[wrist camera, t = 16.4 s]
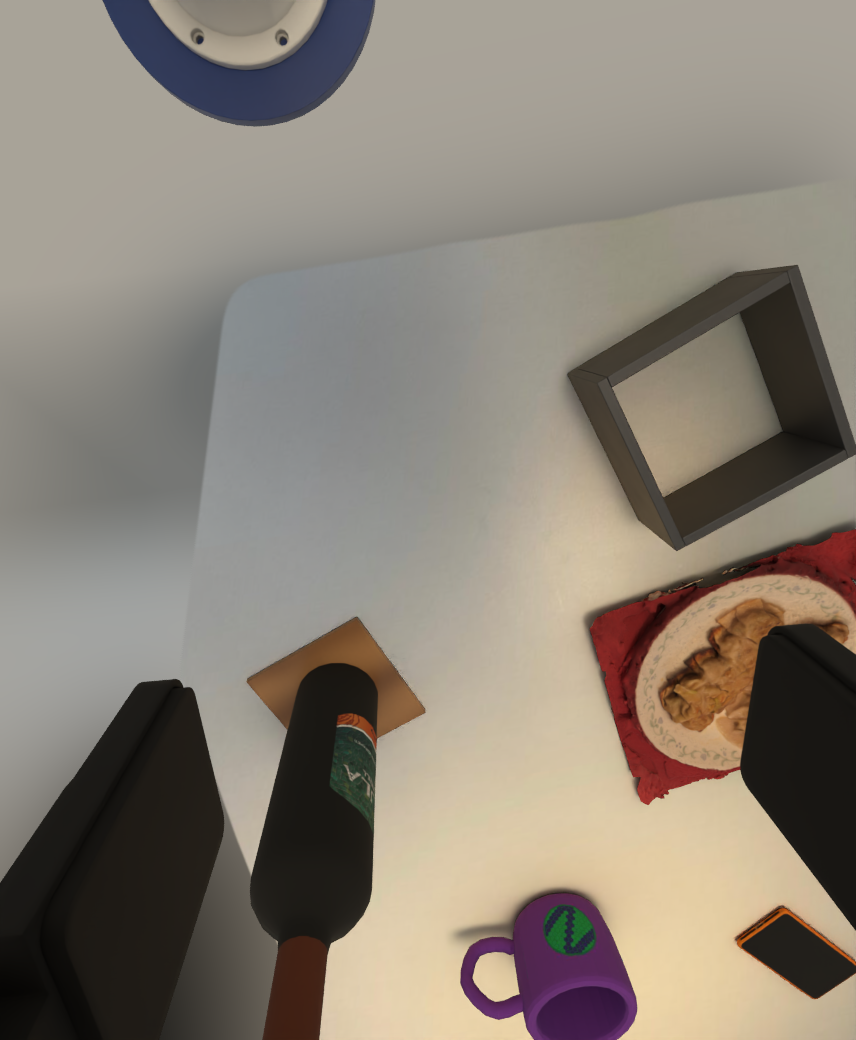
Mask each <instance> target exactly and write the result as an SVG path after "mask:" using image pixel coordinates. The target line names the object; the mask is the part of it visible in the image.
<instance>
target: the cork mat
mask: <svg viewBox="0 0 856 1040" xmlns="http://www.w3.org/2000/svg"><path fill="white" fill-rule="evenodd" d="M329 663H346V664H349V665H353V666H356V667H358V668H360V669H361V670H363V671H364V672H366V673H367V674H368V675H369V676H370V677H371V679H372V680H373V681H374V682H375V685H376V688H377V691H378V711H377V738H379V737H380V736H382V735H384V734H386V733H388V732H390V731H392V730H394V729H395V728H397V727H399V726H401V725H403V724H405V723H407V722H409V721H410V720H412V719H414V718H416V717H418V716H420V715H422V714H424V713H425V708H424V707H423V706H422V704H421V703H420V702H419V700H418V699H417V698H416V696H415V695H414V693H413V692H412V691H411V689H410V688H409V687H408V685H407V684H406V683H405V681H404V680H403V679H402V677H401V676H400V674H399V673H398V672H397V670H396V669H395V668H394V666H393V665H392V664H391V662H390V661H389V659H388V658H387V657H386V655H385V654H384V653H383V651H382V650H381V649H380V647H379V646H378V644H377V643H376V642H375V640H374V639H373V638H372V636H371V635H370V634H369V632H368V631H367V630H366V628H365V627H364V625H363V624H362V623H361V621H360V620H359V619H358V617H356V618H354V619H352V620H350V621H349V622H347V623H345V624H343V625H342V626H340V627H338V628H336V629H335V630H333V631H331V632H329V633H327V634H326V635H324V636H322V637H320V638H319V639H317V640H315V641H313V642H312V643H310V644H308V645H306V646H305V647H303V648H301V649H299V650H298V651H296V652H294V653H292V654H290V655H289V656H287V657H285V658H283V659H282V660H280V661H278V662H276V663H275V664H273V665H271V666H269V667H268V668H266V669H264V670H262V671H260V672H259V673H257V674H255V675H253V676H252V677H250V678H248V679H247V683H248V684H249V685H250V687H251V688H252V689H253V690H254V691H255V692H256V694H257V695H258V696H259V697H260V698H261V699H262V701H263V702H264V703H265V704H266V705H267V706H268V708H269V709H270V710H271V711H272V712H273V713H274V715H275V716H276V717H277V718H278V719H279V720H280V722H281V723H282V724H283V725H284V726H285V727H286V729H287V730H288V726H289V722H290V718H291V714H292V710H293V706H294V702H295V698H296V694H297V691H298V688H299V685H300V682H301V681H302V679H303V678H304V677H305V676H306V675H307V674H308V673H309V672H310V671H312V670H313V669H315V668H317V667H318V666H322V665H325V664H329Z"/></svg>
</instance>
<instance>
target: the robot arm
mask: <svg viewBox="0 0 856 1040" xmlns="http://www.w3.org/2000/svg"><path fill="white" fill-rule="evenodd" d="M149 2H150V4H151V6H152V7H153V9H154V10H155V12H156V13H157V14H158V16H159V17H160V19H161V20H162V22H163V23H164V24H165V25H166V26H167V28H168V29H169V30H170V31H171V32H172V33H173V35H174V36H175V37H176V38H177V39H178V40H179V41H180V42H182V43H183V44H184V45H185V46H186V47H187V48H189V49H190V50H191V51H192V52H194V53H195V54H197V55H199V56H200V57H202V58H204V59H206V60H207V61H209V62H211V63H214V64H217V65H220V66H223V67H226V68H230V69H238V70H254V69H263V68H266V67H269V66H272V65H275V64H278V63H280V62H282V61H283V60H285V59H286V58H288V57H290V56H291V55H293V54H294V53H295V52H296V51H297V50H298V49H299V48H300V47H301V46H302V45H303V44H304V43H305V42H306V41H307V40H308V39H309V37H310V36H311V34H312V33H313V31H314V30H315V28H316V27H317V25H318V24H319V21H320V19H321V16H322V14H323V11H324V9H325V7H326V4H327V0H149ZM200 38H203V39H204V41H203V42H202V44H198V40H199V39H200ZM283 39H285V40H287V44H286V45H283V46H282V45H281V44H280V43H281V41H282V40H283ZM740 770H741V774H742V778H743V780H744V782H745V784H746V786H747V788H748V789H749V790H750V792H751V793H752V794H753V796H754V797H755V798H756V800H757V801H758V802H759V804H760V805H761V806H762V807H763V809H764V810H765V811H766V813H767V814H768V815H769V817H770V818H771V819H772V821H773V822H774V823H775V825H776V826H777V827H778V829H779V830H780V831H781V833H782V834H783V835H784V837H785V838H786V839H787V840H788V842H789V843H790V844H791V846H792V847H793V848H794V850H795V851H796V852H797V854H798V855H799V856H800V858H801V859H802V860H803V862H804V863H805V864H806V866H807V867H808V868H809V870H810V871H811V872H812V873H813V875H814V876H815V877H816V879H817V880H818V881H819V883H820V884H821V885H822V887H823V888H824V889H825V891H826V892H827V893H828V895H829V896H830V897H831V899H832V900H833V901H834V903H835V904H836V905H837V906H838V908H839V909H840V910H841V912H842V913H843V914H844V916H845V917H846V918H847V920H848V921H849V922H850V924H851V925H852V926H853V928H854V929H855V930H856V654H855V653H853V652H852V651H850V650H849V649H848V648H846V647H845V646H844V645H842V644H841V643H840V642H838V641H837V640H835V639H834V638H833V637H831V636H830V635H829V634H827V633H826V632H824V631H823V630H822V629H820V628H819V627H817V626H815V625H814V624H808V623H805V624H794V625H782V626H775V627H773V628H771V629H770V631H769V632H768V635H767V636H764V637H762V639H761V640H760V643H759V647H758V653H757V660H756V666H755V672H754V678H753V685H752V691H751V697H750V704H749V710H748V716H747V722H746V729H745V735H744V741H743V748H742V754H741V760H740ZM223 831H224V815H223V810H222V806H221V802H220V797H219V793H218V789H217V785H216V780H215V776H214V772H213V768H212V764H211V759H210V755H209V751H208V747H207V743H206V738H205V734H204V730H203V726H202V722H201V717H200V713H199V709H198V705H197V701H196V696H195V693H194V691H193V689H192V688H190V687H186V688H183V685H182V683H181V682H180V680H177V679H172V680H162V681H149V682H141V683H139V684H138V685H137V686H136V687H135V688H134V690H133V691H132V693H131V694H130V696H129V697H128V699H127V700H126V701H125V703H124V705H123V706H122V707H121V709H120V710H119V712H118V713H117V715H116V716H115V718H114V720H113V721H112V722H111V724H110V725H109V727H108V728H107V730H106V731H105V733H104V734H103V735H102V737H101V738H100V740H99V742H98V743H97V744H96V746H95V747H94V749H93V750H92V752H91V753H90V755H89V756H88V758H87V759H86V761H85V762H84V764H83V765H82V767H81V768H80V769H79V771H78V772H77V774H76V775H75V777H74V778H73V779H72V780H71V782H70V783H69V784H68V785H67V786H66V787H65V789H64V790H63V791H62V793H61V794H60V796H59V797H58V799H57V800H56V802H55V803H54V805H53V806H52V808H51V809H50V811H49V812H48V814H47V815H46V816H45V818H44V819H43V821H42V822H41V824H40V826H39V827H38V828H37V830H36V831H35V833H34V834H33V836H32V837H31V839H30V840H29V842H28V843H27V844H26V846H25V847H24V849H23V850H22V852H21V853H20V855H19V856H18V858H17V859H16V861H15V862H14V863H13V865H12V866H11V868H10V869H9V871H8V872H7V874H6V875H5V877H4V878H3V880H2V881H1V883H0V1040H159V1038H160V1035H161V1032H162V1028H163V1025H164V1022H165V1019H166V1016H167V1013H168V1009H169V1006H170V1003H171V1000H172V997H173V993H174V990H175V987H176V984H177V981H178V978H179V975H180V971H181V968H182V965H183V962H184V959H185V956H186V952H187V949H188V946H189V943H190V939H191V936H192V933H193V930H194V927H195V924H196V921H197V917H198V914H199V911H200V908H201V905H202V902H203V898H204V895H205V892H206V889H207V886H208V883H209V879H210V876H211V873H212V870H213V867H214V863H215V860H216V857H217V854H218V850H219V848H220V844H221V841H222V837H223Z"/></svg>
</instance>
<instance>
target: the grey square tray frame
mask: <svg viewBox="0 0 856 1040" xmlns="http://www.w3.org/2000/svg"><path fill="white" fill-rule="evenodd" d="M739 312H740V313H741V316H742V319H743V321H744V324H745V327H746V330H747V332H748V335H749V338H750V341H751V343H752V346H753V349H754V351H755V354H756V357H757V360H758V362H759V365H760V368H761V371H762V373H763V376H764V379H765V382H766V384H767V387H768V390H769V392H770V395H771V398H772V401H773V403H774V406H775V409H776V412H777V414H778V417H779V420H780V422H781V425H782V428H783V431H784V432H782V433H780V434H778V435H776V436H775V437H773V438H771V439H769V440H767V441H766V442H764V443H762V444H760V445H758V446H757V447H755V448H753V449H751V450H749V451H748V452H746V453H744V454H742V455H740V456H739V457H737V458H735V459H733V460H731V461H730V462H728V463H726V464H724V465H722V466H721V467H719V468H717V469H715V470H713V471H712V472H710V473H708V474H706V475H704V476H702V477H701V478H699V479H697V480H695V481H693V482H692V483H690V484H688V485H686V486H684V487H683V488H681V489H679V490H677V491H675V492H674V493H672V494H670V495H668V496H666V497H665V498H663V497H662V495H661V492H660V490H659V488H658V486H657V484H656V482H655V479H654V477H653V475H652V473H651V471H650V469H649V467H648V464H647V462H646V460H645V458H644V456H643V454H642V452H641V449H640V447H639V445H638V443H637V441H636V439H635V437H634V434H633V432H632V430H631V428H630V426H629V424H628V422H627V419H626V417H625V415H624V413H623V411H622V409H621V406H620V404H619V402H618V400H617V398H616V396H615V394H614V391H613V389H612V387H613V386H615V385H616V384H618V383H620V382H622V381H623V380H625V379H627V378H628V377H630V376H632V375H633V374H635V373H637V372H639V371H640V370H642V369H644V368H645V367H647V366H649V365H651V364H652V363H654V362H656V361H657V360H659V359H661V358H662V357H664V356H666V355H668V354H669V353H671V352H673V351H674V350H676V349H678V348H679V347H681V346H683V345H685V344H686V343H688V342H690V341H691V340H693V339H695V338H697V337H698V336H700V335H702V334H703V333H705V332H707V331H708V330H710V329H712V328H714V327H715V326H717V325H719V324H720V323H722V322H724V321H725V320H727V319H729V318H731V317H732V316H734V315H736V314H737V313H739ZM567 375H568V377H569V379H570V381H571V383H572V385H573V387H574V389H575V391H576V393H577V395H578V397H579V399H580V401H581V403H582V405H583V407H584V409H585V411H586V414H587V416H588V418H589V420H590V422H591V424H592V426H593V428H594V430H595V432H596V434H597V436H598V438H599V440H600V442H601V444H602V446H603V448H604V450H605V452H606V454H607V456H608V458H609V460H610V463H611V465H612V467H613V469H614V471H615V473H616V475H617V477H618V479H619V481H620V483H621V485H622V487H623V489H624V491H625V493H626V495H627V497H628V499H629V501H630V503H631V505H632V507H633V510H634V512H635V514H636V516H637V518H638V520H639V521H640V522H641V523H643V524H644V525H645V526H646V527H648V528H649V529H650V530H651V531H652V532H654V533H655V534H656V535H657V536H659V537H660V538H661V539H662V540H663V541H665V542H666V543H667V544H668V545H670V546H671V547H672V548H673V549H674V550H676V551H678V550H680V549H681V548H683V547H685V546H687V545H689V544H691V543H693V542H695V541H697V540H698V539H700V538H702V537H704V536H706V535H708V534H710V533H711V532H713V531H715V530H717V529H719V528H721V527H722V526H724V525H726V524H728V523H730V522H732V521H734V520H735V519H737V518H739V517H741V516H743V515H745V514H747V513H748V512H750V511H752V510H754V509H756V508H758V507H759V506H761V505H763V504H765V503H767V502H769V501H771V500H772V499H774V498H776V497H778V496H780V495H782V494H784V493H785V492H787V491H789V490H791V489H793V488H795V487H796V486H798V485H800V484H802V483H804V482H806V481H808V480H809V479H811V478H813V477H815V476H817V475H819V474H821V473H822V472H824V471H826V470H828V469H830V468H832V467H833V466H835V465H837V464H839V463H841V462H843V461H845V460H846V459H848V458H850V457H852V456H854V455H856V444H855V441H854V438H853V435H852V432H851V429H850V426H849V422H848V419H847V416H846V413H845V410H844V407H843V404H842V401H841V398H840V394H839V391H838V388H837V385H836V382H835V379H834V376H833V373H832V370H831V367H830V363H829V360H828V357H827V354H826V351H825V348H824V345H823V342H822V339H821V335H820V332H819V329H818V326H817V323H816V320H815V317H814V314H813V311H812V308H811V304H810V301H809V298H808V295H807V292H806V289H805V286H804V283H803V280H802V277H801V273H800V270H799V267H798V265H793V266H785V267H777V268H769V269H761V270H753V271H745V272H737V273H735V274H733V275H731V276H730V277H728V278H726V279H725V280H723V281H721V282H720V283H718V284H716V285H715V286H713V287H711V288H709V289H708V290H706V291H704V292H703V293H701V294H699V295H698V296H696V297H694V298H693V299H691V300H689V301H688V302H686V303H684V304H683V305H681V306H679V307H678V308H676V309H674V310H673V311H671V312H669V313H668V314H666V315H664V316H663V317H661V318H659V319H657V320H656V321H654V322H652V323H651V324H649V325H647V326H646V327H644V328H642V329H641V330H639V331H637V332H636V333H634V334H632V335H631V336H629V337H627V338H626V339H624V340H622V341H621V342H619V343H617V344H616V345H614V346H612V347H611V348H609V349H607V350H605V351H604V352H602V353H600V354H599V355H597V356H595V357H594V358H592V359H590V360H589V361H587V362H585V363H584V364H582V365H580V366H579V367H577V368H576V369H574V370H572V371H570V372H569V373H568V374H567Z"/></svg>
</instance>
